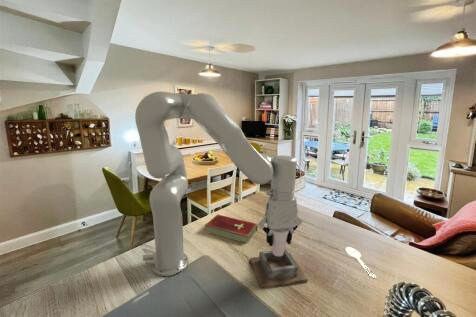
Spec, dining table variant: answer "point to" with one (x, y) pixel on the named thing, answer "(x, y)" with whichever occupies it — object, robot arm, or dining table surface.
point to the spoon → (358, 258)
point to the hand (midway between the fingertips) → (278, 242)
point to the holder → (277, 269)
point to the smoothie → (279, 241)
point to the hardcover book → (231, 228)
